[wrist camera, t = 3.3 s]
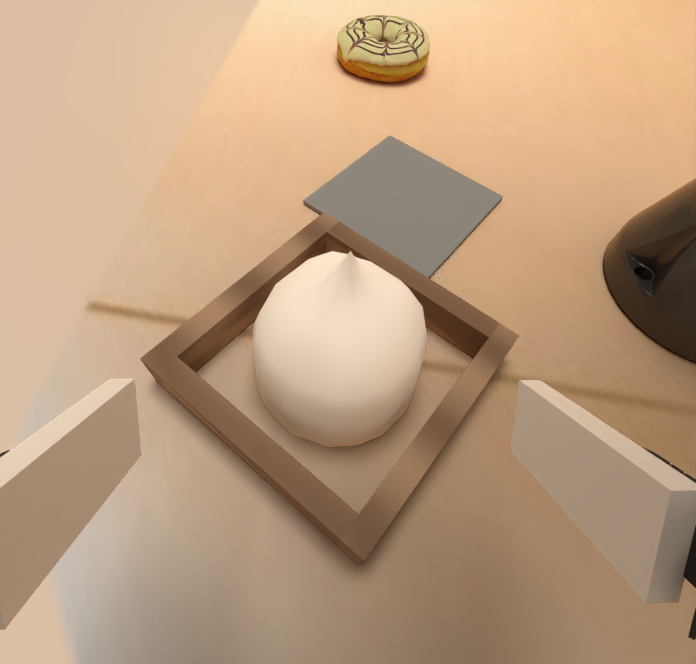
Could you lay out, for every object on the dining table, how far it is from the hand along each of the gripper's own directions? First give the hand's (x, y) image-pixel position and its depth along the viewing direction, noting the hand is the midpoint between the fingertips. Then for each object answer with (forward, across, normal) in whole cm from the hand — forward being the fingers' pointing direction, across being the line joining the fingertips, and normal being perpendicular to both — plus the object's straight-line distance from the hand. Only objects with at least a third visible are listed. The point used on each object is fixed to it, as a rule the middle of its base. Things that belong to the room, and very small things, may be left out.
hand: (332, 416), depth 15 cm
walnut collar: (+15, +1, -3) cm, 15 cm away
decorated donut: (+44, +7, +26) cm, 51 cm away
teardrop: (+15, +1, -3) cm, 15 cm away
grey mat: (+26, +7, +9) cm, 29 cm away
